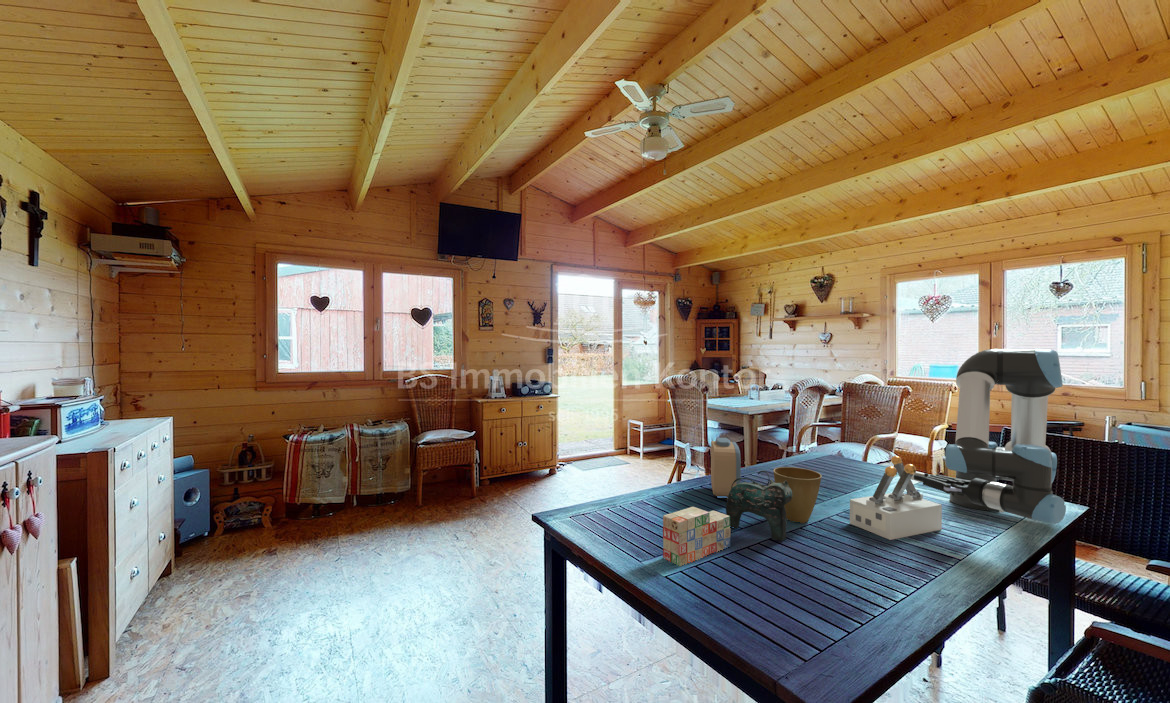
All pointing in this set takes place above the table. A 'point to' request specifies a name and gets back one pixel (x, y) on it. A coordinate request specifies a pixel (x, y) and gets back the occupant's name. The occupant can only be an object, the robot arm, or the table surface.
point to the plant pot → (799, 491)
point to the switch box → (896, 516)
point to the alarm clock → (724, 466)
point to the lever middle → (903, 482)
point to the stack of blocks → (694, 534)
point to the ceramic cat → (760, 504)
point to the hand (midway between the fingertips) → (906, 473)
